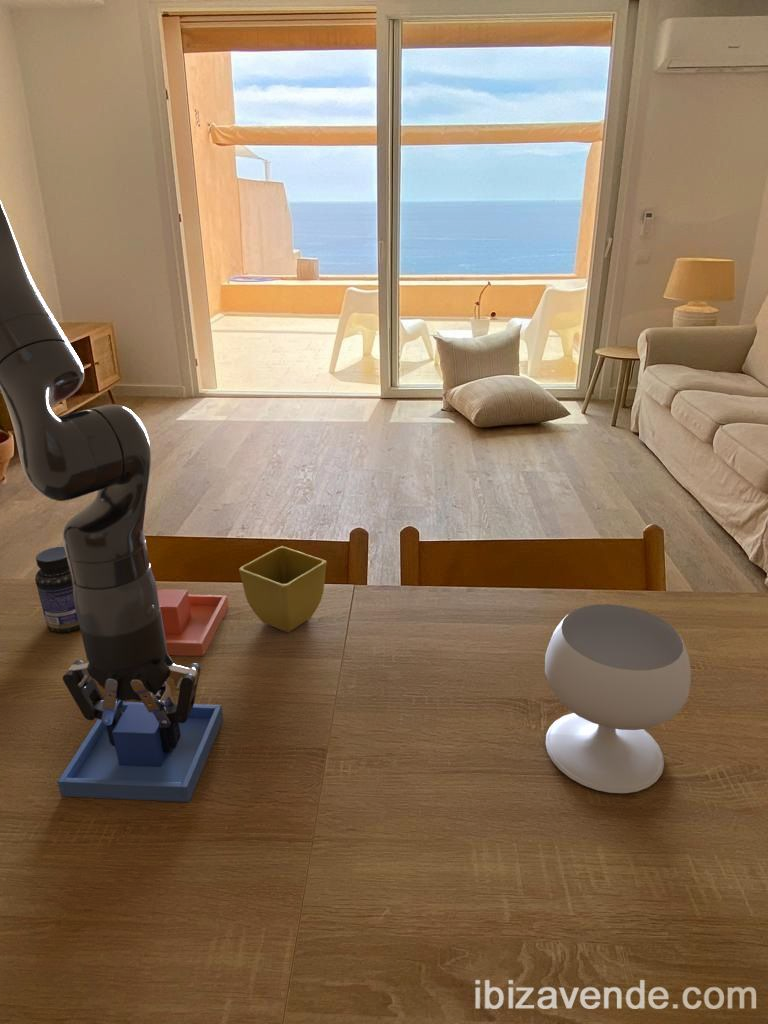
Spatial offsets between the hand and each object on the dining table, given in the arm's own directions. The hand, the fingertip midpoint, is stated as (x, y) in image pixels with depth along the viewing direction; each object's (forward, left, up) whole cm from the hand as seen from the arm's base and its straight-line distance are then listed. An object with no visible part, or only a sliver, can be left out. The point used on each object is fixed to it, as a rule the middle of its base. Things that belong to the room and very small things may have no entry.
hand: (146, 746), depth 75 cm
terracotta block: (-6, +24, -1) cm, 25 cm away
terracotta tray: (-6, +24, -1) cm, 25 cm away
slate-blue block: (0, 0, -1) cm, 1 cm away
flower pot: (+10, +27, -1) cm, 29 cm away
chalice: (+49, +3, -1) cm, 49 cm away
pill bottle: (-21, +25, -1) cm, 33 cm away
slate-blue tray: (0, 0, -1) cm, 1 cm away
